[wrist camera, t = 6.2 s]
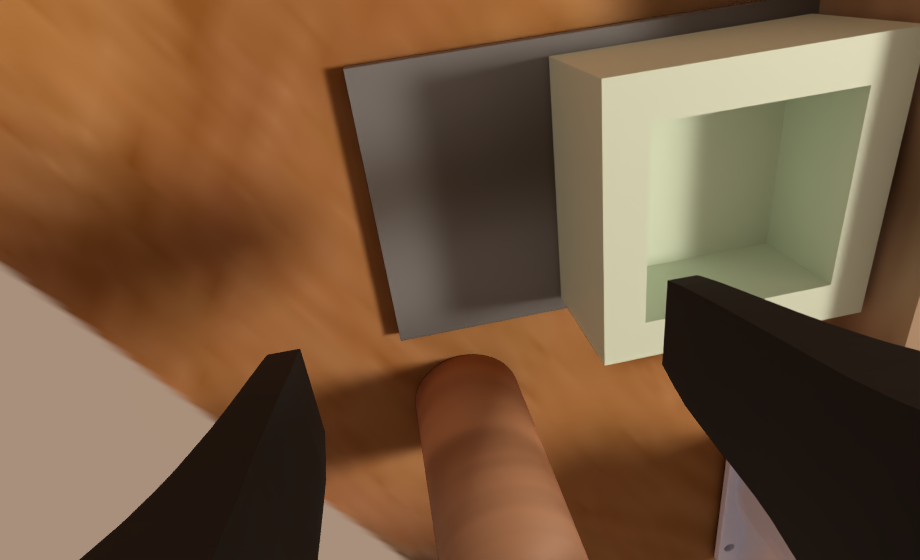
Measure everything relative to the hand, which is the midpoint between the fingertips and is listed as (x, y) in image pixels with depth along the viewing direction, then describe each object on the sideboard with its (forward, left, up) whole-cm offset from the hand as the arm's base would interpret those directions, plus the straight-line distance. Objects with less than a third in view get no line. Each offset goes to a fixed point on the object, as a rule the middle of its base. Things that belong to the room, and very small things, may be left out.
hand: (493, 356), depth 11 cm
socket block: (0, -8, -8) cm, 11 cm away
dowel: (-8, 0, -8) cm, 12 cm away
